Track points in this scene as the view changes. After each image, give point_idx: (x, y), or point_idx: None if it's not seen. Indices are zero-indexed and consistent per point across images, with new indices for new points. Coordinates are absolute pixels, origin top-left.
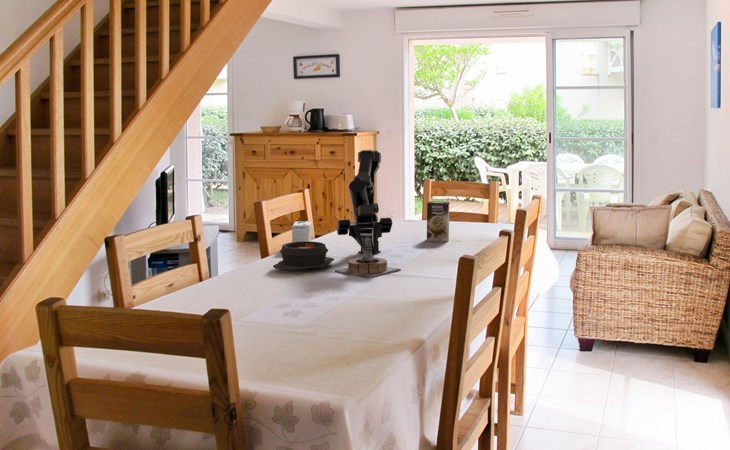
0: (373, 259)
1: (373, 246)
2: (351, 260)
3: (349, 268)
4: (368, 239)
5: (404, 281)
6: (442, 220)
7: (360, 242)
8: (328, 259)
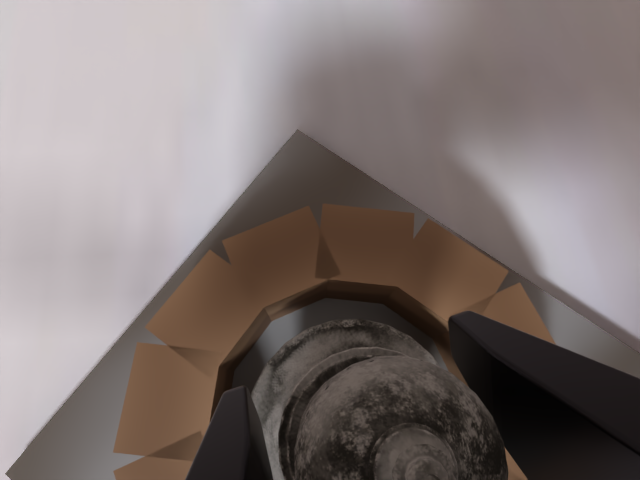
0: (273, 367)
1: (258, 420)
2: None
3: None
4: (358, 365)
5: (33, 59)
6: None
7: (518, 332)
8: None
